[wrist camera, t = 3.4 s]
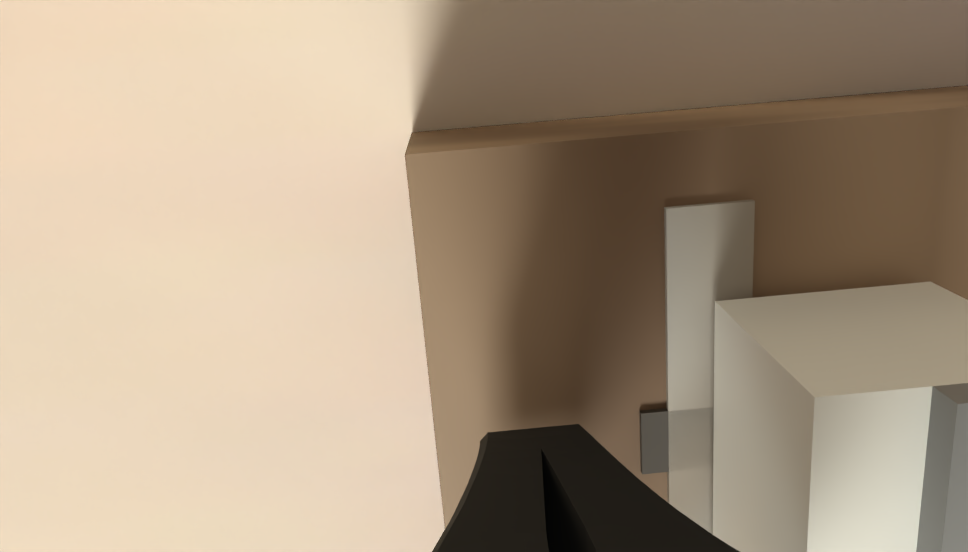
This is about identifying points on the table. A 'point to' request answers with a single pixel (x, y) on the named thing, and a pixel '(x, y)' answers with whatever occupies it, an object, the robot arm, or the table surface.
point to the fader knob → (842, 421)
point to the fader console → (660, 258)
